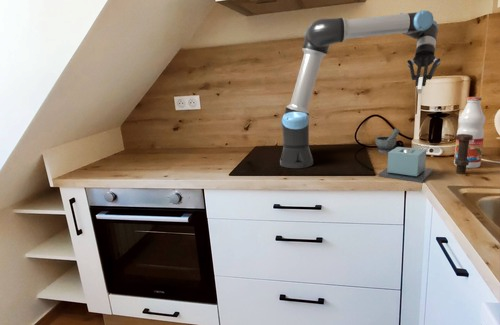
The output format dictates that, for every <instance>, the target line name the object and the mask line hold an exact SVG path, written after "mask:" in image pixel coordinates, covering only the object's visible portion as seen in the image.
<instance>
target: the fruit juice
mask: <svg viewBox="0 0 500 325" xmlns="http://www.w3.org/2000/svg"><path fill="white" fill-rule="evenodd" d="M481 102H482V96H467V97H466V105H465V107H464V109H463V111H462V112H461V114H460V115H459V117H458V120H457V121H458V129H457V131H456V136H457V135H458V134H469V135H472V136H473V139H472V140H469V146H468V155H467V159H468V160H469V164H468V165H467V166H466V169H476V168H479V167H480V166H481V165H482V164H481V163H482V162H481V161H482V154H483V146H484V138H485V130H484V125H485V122H486V116H485V114H484V113H483V108H482V105H481ZM458 150H459V140H457V139H456V138H455V149H454V156H453V157H454V158H453V164H454V165H455V166H456V167H457V165H456V164H455V160H456V159H457V157H458Z"/></svg>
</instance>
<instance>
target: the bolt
mask: <svg viewBox="0 0 500 325" xmlns="http://www.w3.org/2000/svg"><path fill="white" fill-rule="evenodd" d="M456 139H457V140H459V150H458V157H457V159H456V160H455V164H456V165H457V166H456V165H455V164H454V165H455V166H456V167H455V168H456V170H455V173H456V174H459V175H465V174H466V170H467V168H466V166H467V165H468V164H469V160H468V159H467V155H468V146H469V140H472V139H473V136H472V135H469V134H458V135H457V134H456V136H455V140H456Z"/></svg>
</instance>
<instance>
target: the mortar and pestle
mask: <svg viewBox="0 0 500 325" xmlns="http://www.w3.org/2000/svg"><path fill="white" fill-rule="evenodd" d="M400 132H401V130H399V129H398V128H396V127H395V128H394V129H393V131H392V133H390V135H389V136H377V137H374V140H375V142H374V143H375V145H376V147H377V148H378V153H380V154H388V152H390V151H391V150H393V149H394V147H395V146H396V145H397V136H398V135H399V133H400Z"/></svg>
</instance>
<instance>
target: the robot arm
mask: <svg viewBox="0 0 500 325" xmlns="http://www.w3.org/2000/svg"><path fill="white" fill-rule="evenodd" d="M437 22H438V21H436V20H434V15H433V13H432V12H431V11H429V10H420V11H417V12H408V13H407V12H406V13H403V12H402V13H397V14H389V15H379V16H378V15H377V16H371V17H360V18H352V19H351V18H350V19H345V18H344V17H335V18H333V17H332V18H318V19H316V20H314V21H313V22H312V23H311V24H310V25H309V26H308V27H307V29H306V31H305V33H304V41H303V45H302V48H301V49H302V52H303V58H302V61H301V64H300V68H299V72H298V75H297V77H296V78H297V79H296V82H295V84H294V85H295V86H294V89H293V93H292V96H291V100H290V102H289V104H288V105H286V106H285V110H284V112H283V115H282V118H281V120H280V127H281V129H282V143H283V144H282V146H283V148H282V150H281V151H282V152H281V155H280V159H279V165H280V166H281V167H284V168H287V169H288V168H289V169H304V168H309V167H311V166H312V165H314V159H313V158H314V157H313V155H312V153H311V150H310V136H309V134H310V133H309V132H310V131H309V130H310V129H309V126H310V125H309V124H310V119H309V116H310V110H309V104H310V101H311V97H312V95H313V91H314V87H315V84H316V80H317V78H318V74H319V70H320V68H321V67H320V66H321V64H322V60H323V58H325V57H326V56H327V55H328V52H329V48H330V46H331V45H333V44H337V43H344V42H345V41H346V40H350V39H359V38H369V37H379V36H387V35H388V36H389V35H396V34H401V35H402V34H403V35H405V36H407V37H409V38H413V39H415V40H416V49H415V54H414V57H413V59H412V60H411V59H408V60H407V66H408V68H409V71H410V72H409V73H410V76H411V80H412V81H415V83H414V85H415V87H417V89H416V90H417V94H418V95H419V94H422V92H423V87H426V84H427V80H429V81H430V80H432V78H433V76H434V74H435V72H436V70H437V68H438V66H440V65H441V58H440V57H439V58H436V56H435V53H436V52H435V51H436V47H437V45H436V44H437V37H438V32H439V29H438V28H439V27H438V26H439V25H438V23H437ZM414 64H415V65H416V66H417V70H416V74H415V70H414V69H415V68H414ZM429 66H431V68H430V70H429ZM422 68H423V74H422V76H421V73H422ZM428 70H429V72H428Z"/></svg>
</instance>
